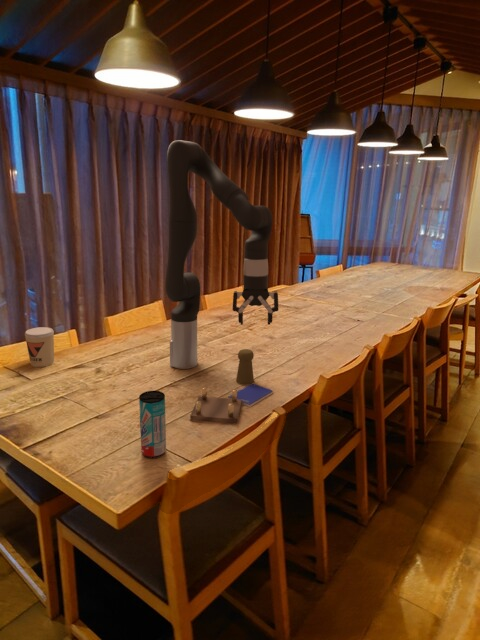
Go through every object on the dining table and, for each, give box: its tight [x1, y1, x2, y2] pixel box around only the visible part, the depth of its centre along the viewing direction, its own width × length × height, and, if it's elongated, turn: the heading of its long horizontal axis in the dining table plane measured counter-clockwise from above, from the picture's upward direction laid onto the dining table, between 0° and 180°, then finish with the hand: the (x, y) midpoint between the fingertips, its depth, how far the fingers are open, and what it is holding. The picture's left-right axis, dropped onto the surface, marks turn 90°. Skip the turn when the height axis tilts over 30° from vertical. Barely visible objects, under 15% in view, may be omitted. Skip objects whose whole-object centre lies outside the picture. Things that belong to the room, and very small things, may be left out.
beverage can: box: [138, 390, 167, 459], centre depth 107 cm, size 6×6×15 cm
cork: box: [235, 348, 255, 386], centre depth 149 cm, size 6×6×11 cm
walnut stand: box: [189, 386, 243, 425], centre depth 129 cm, size 13×12×5 cm
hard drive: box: [227, 383, 273, 408], centre depth 140 cm, size 2×8×12 cm
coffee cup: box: [24, 326, 55, 368], centre depth 159 cm, size 9×9×12 cm
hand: (255, 324), depth 142 cm, fingers open, 8 cm apart
